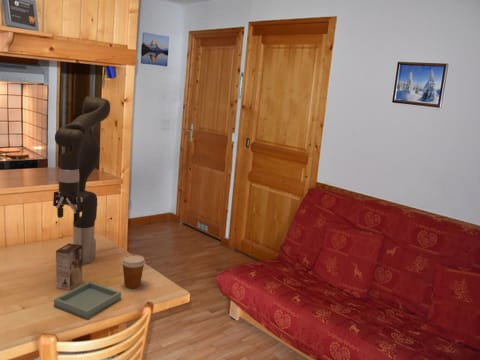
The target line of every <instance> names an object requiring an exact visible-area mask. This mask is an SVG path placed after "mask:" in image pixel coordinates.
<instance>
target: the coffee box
mask: <svg viewBox="0 0 480 360" xmlns="http://www.w3.org/2000/svg"><path fill="white" fill-rule="evenodd" d="M55 272H56V273H55V277H56V278H55V281H56V282H55V284H56V286H55V288H57V289H61V290H66V291H67V290H68V291H72V290H73V288H75V287H77V286H78V285H79V284H80V283H81V282H83V264H82V245H77V244H73V243H70V242H69V243H67V244H65V245H63V246H61V247H60V248H58V249H57V250H55Z"/></svg>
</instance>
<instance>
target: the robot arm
mask: <svg viewBox="0 0 480 360" xmlns="http://www.w3.org/2000/svg"><path fill="white" fill-rule="evenodd" d="M110 112H111V103H110V101H109V100H108V99H106V98H103V97H96V96H90V95H89V96H88V95H87V96H86V97H85V98H84V100H83V104H82V112H81V115H78V116H77V117H76V118H75V119H73V121H72V122H71V123H67V124H66V125H63V126H62V127H60V128H58V129H57V131H56V132H55V134H54V141H55V143H56V144H57V146H60V147H62V148H71V149H72V150H71V151H70V152H63V153H61V154H60V155H59V169H58V170H59V171H58V172H59V173H58V191H57V190H56V191H54V192H53V198H52V199H53V200H52V201H53V203H52V206H53V207H55V208H56V212H57V214H56V215H57V218H58V219H60V218H63V217H64V206H68V207H70V209H71V210H72V212H73V219H72V220H73V221H72V224H73V225H72V226H73V227H72V229H73V230H72V244H77V245H82V265H87V264H91V263H93V262H94V261H95V260H96V257H97V256H96V255H97V254H96V247H97V245H96V244H97V243H96V242H97V240H96V238H95V226H96V225H95V224H96V220H97V214H98V212H97V211H98V197H97V194H96V193H95V192H92V191H89V190H86V186H87V181H88V178H89V177H90V176H91V174H92V173H93V172H94V170H95V169H96V167H97V166H98V163H99V160H100V159H99V158H100V154H101V153H100V152H101V147H100V144H99V142H98V139H97V137H96V135H95V133H94V131H93V128H94V127H95V126H96V125H99V124H100V123H102V121H105V120H106V119H107V118H108V117H109V115H110ZM80 213H81V214H80ZM80 215H81V216H80Z"/></svg>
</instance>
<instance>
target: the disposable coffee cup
mask: <svg viewBox="0 0 480 360" xmlns="http://www.w3.org/2000/svg"><path fill="white" fill-rule="evenodd" d="M121 264H122V272H123V281H124V287H125V288H126V289H132V290H134V289H138V288H140V286H141V282H142V278H143V271H144V266H145V264H146V260H145V257H144V256H142V255H139V254H128V255H125V256H124V257H122V260H121Z"/></svg>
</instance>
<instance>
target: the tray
mask: <svg viewBox="0 0 480 360" xmlns="http://www.w3.org/2000/svg"><path fill="white" fill-rule="evenodd" d="M121 300H122V292H121V291H118V290H116V289H112V288H109V287H107V286H104V285H101V284H98V283H94V282H93V281H88V282H87V283H84V284H82V285H80V286H78V287H76V288H74V289H71V290H69V291H68V292H65V293H64V294H62V295H60V296H58V297H56V298H53V307H54V308H56V309H58V310H61V311H64V312H67V313H70V314H72V315H75V316H77V317H80V318H83V319H84V318H85V319H84V320H89V319H91V318H92V317H94V316H96V315H97V314H99V313H101V312H102V311H104V310H106V309H107V308H109V307H110V306H112V305H114V304H115V303H117V302H119V301H121Z"/></svg>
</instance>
